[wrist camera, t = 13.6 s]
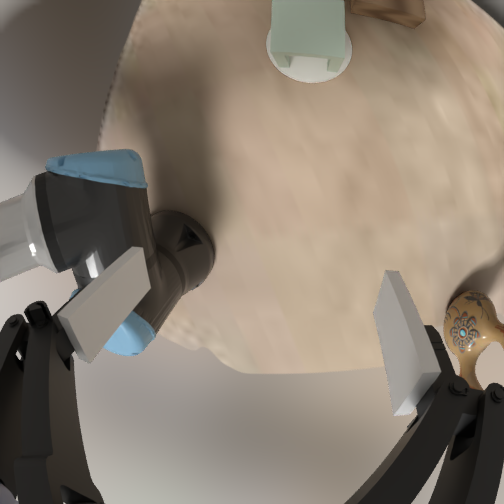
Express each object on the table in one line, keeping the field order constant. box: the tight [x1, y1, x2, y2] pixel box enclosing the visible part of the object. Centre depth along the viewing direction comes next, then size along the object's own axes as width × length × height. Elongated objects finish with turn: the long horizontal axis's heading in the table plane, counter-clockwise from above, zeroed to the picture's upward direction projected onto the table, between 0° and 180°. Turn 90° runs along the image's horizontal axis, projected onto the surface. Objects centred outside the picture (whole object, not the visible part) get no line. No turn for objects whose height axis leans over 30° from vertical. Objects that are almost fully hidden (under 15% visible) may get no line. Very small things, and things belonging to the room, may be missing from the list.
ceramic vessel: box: [444, 290, 504, 391], centre depth 31 cm, size 16×9×25 cm, turn 160°
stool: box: [270, 0, 345, 73], centre depth 25 cm, size 8×8×9 cm
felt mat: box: [266, 29, 352, 83], centre depth 29 cm, size 12×12×1 cm
